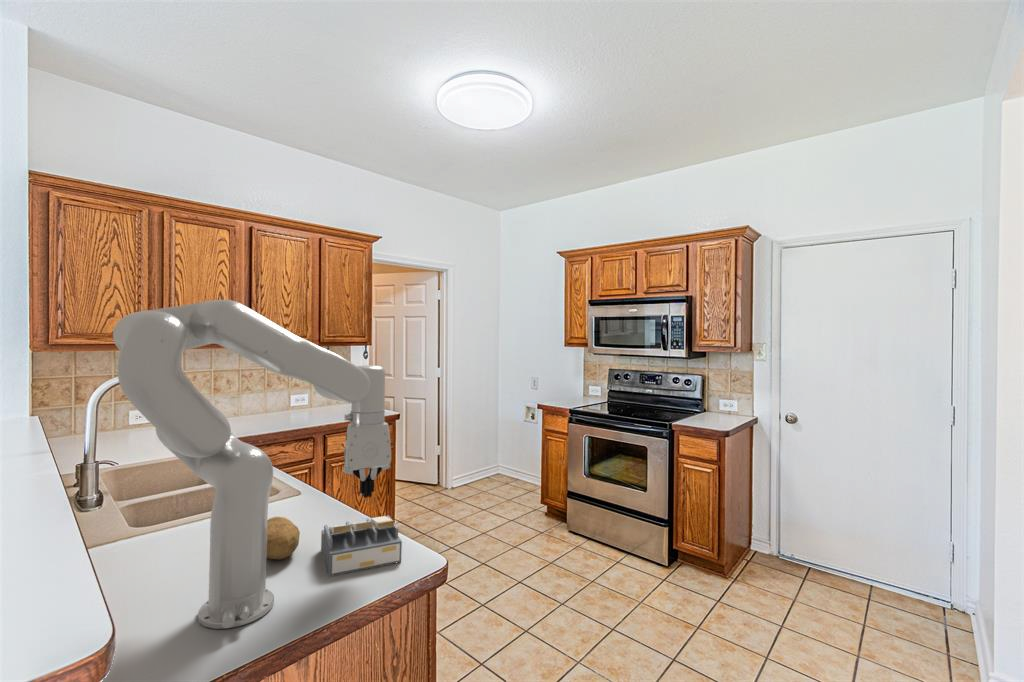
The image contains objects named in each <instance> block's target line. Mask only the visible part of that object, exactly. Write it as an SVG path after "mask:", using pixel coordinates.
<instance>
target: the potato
mask: <svg viewBox="0 0 1024 682" xmlns="http://www.w3.org/2000/svg"><path fill="white" fill-rule="evenodd" d="M300 534H301V533H300V530H299V528H298V526H297V525H296V524H294V523H293V521H291V520H290V519H288V518H286V517H285V516H274V517H270V518H267V558H266V559H269V560H282V561H283V560H284V559H286V558H288V557H289V556H292V555H293V553H294V552H295V551H296V549H297V548H298V546H299V543H300Z"/></svg>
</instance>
